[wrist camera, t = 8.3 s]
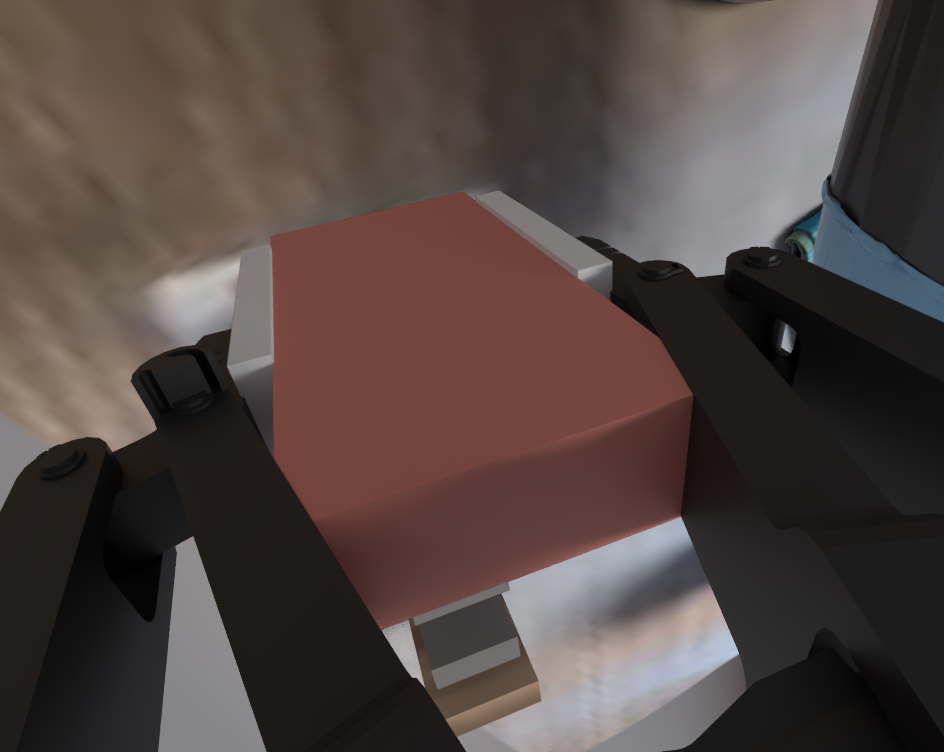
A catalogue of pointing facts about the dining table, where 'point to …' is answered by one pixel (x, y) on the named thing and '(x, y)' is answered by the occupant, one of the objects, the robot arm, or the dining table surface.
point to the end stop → (481, 689)
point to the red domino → (463, 404)
